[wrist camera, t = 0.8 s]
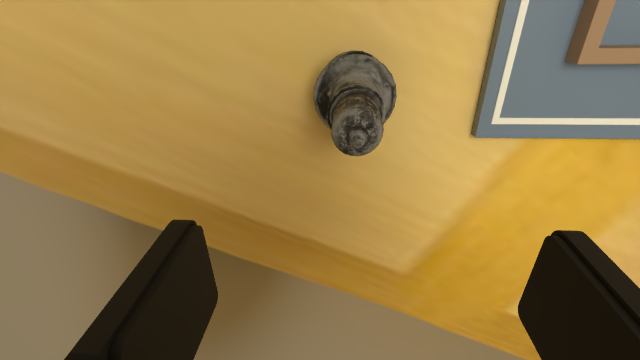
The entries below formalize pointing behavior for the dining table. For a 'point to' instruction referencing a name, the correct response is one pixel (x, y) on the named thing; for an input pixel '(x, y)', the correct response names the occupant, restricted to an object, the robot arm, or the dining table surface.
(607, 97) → the board
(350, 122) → the dark grey chess piece
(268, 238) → the dining table surface
